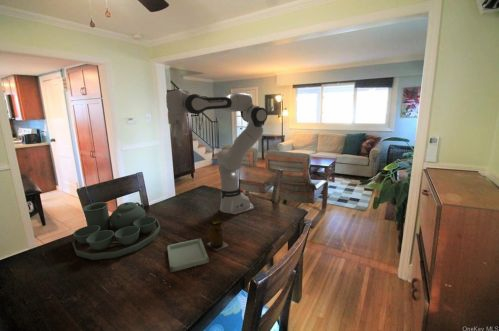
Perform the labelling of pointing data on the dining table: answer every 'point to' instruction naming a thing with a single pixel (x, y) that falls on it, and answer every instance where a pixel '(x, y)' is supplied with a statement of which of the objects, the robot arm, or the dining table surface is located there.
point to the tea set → (114, 231)
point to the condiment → (216, 235)
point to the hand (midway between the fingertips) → (179, 145)
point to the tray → (186, 254)
